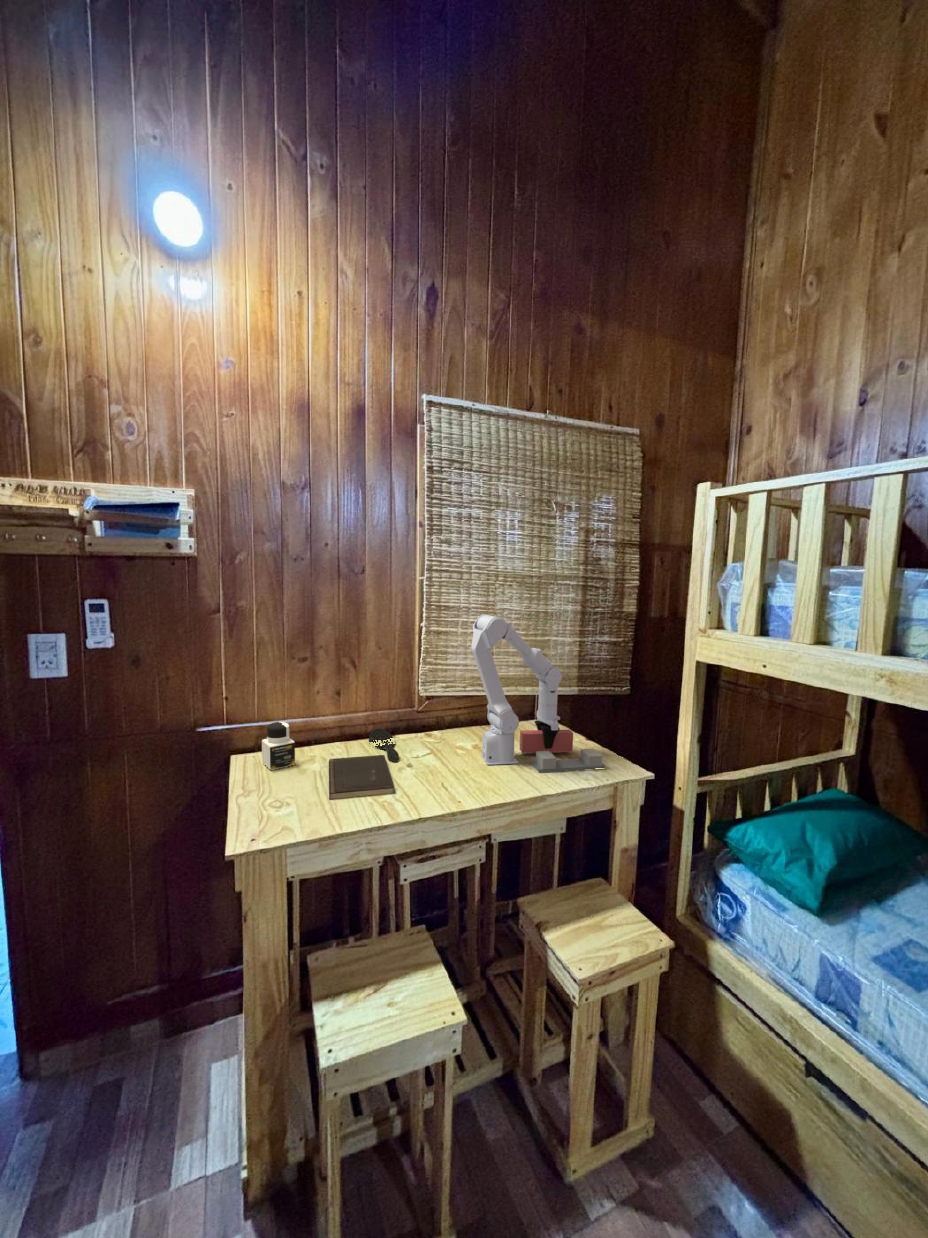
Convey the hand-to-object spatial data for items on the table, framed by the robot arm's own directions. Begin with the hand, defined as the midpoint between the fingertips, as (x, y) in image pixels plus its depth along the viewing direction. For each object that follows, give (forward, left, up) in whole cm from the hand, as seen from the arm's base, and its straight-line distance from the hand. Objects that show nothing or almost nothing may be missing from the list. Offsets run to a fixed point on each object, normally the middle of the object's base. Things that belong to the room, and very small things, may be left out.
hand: (546, 746), depth 160 cm
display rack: (+3, -11, -3) cm, 12 cm away
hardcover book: (-57, -11, -3) cm, 58 cm away
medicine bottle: (-80, +2, -3) cm, 80 cm away
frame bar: (0, 0, -2) cm, 2 cm away
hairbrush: (-49, +11, -3) cm, 50 cm away
